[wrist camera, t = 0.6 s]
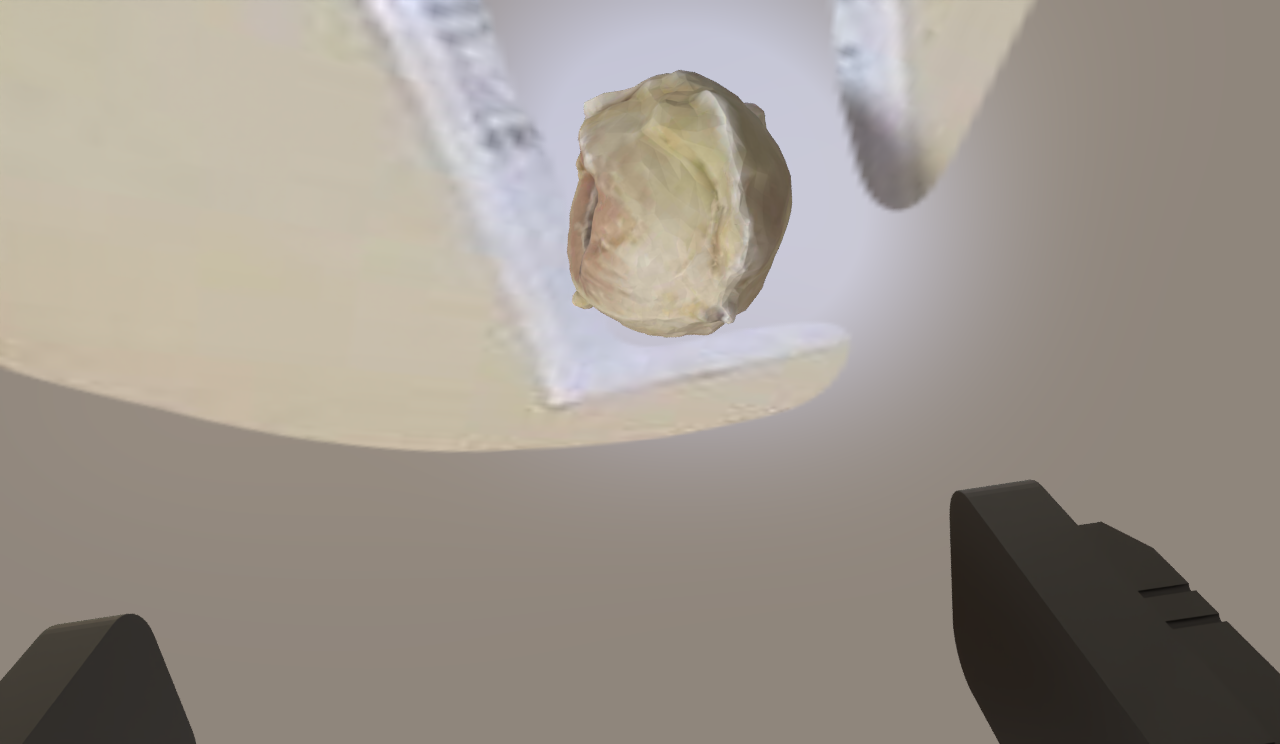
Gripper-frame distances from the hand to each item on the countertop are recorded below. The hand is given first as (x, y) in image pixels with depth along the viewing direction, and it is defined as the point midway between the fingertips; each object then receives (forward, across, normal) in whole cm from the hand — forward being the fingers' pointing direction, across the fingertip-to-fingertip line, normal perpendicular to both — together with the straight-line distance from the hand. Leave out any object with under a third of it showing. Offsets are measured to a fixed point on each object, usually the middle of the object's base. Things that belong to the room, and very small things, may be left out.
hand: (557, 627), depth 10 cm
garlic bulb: (+30, -3, +1) cm, 30 cm away
